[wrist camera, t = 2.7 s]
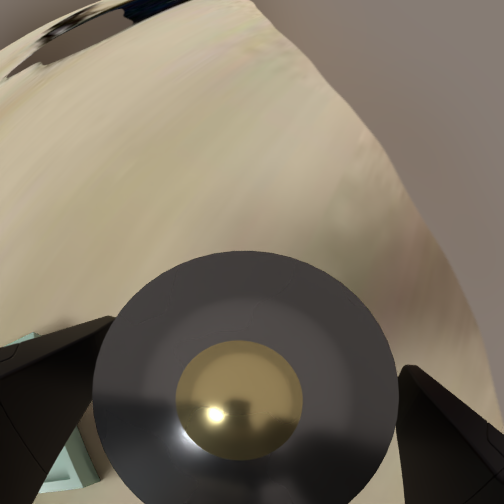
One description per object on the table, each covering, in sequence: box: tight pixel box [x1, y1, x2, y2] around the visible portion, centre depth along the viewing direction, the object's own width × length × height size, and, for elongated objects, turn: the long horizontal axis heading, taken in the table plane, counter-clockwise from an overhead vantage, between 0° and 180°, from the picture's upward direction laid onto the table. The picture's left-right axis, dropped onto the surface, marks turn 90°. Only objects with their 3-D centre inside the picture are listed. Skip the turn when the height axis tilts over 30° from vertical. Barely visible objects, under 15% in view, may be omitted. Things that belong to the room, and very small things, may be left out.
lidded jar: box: [92, 251, 399, 504], centre depth 9 cm, size 5×5×12 cm
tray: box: [4, 332, 100, 493], centre depth 12 cm, size 9×9×2 cm
